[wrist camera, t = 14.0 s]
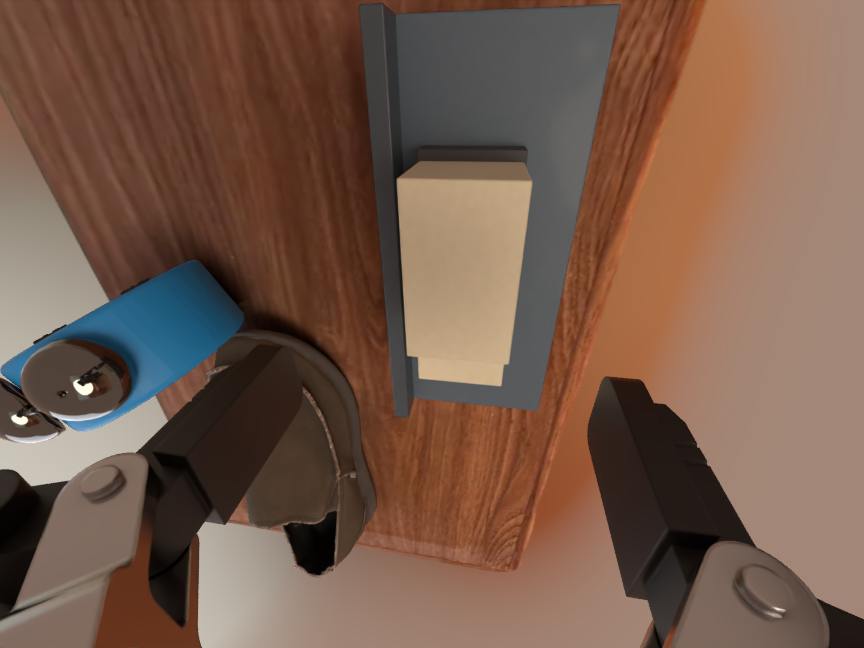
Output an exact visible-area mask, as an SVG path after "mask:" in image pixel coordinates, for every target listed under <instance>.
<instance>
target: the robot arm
mask: <svg viewBox="0 0 864 648" xmlns="http://www.w3.org/2000/svg"><path fill="white" fill-rule="evenodd" d="M204 387H205V388H204V390H203V389H201V390H200V391H199V392H198V393H197V394H196V395H195V396H194V397H193V398H192V401H191V402H188V403H187V404H186V405H185V406H184V407H183V408H182V409H181V410H180V411H179V412H178V413H177V414H176V415H175V416H173V417H172V418H171V419H170V420H169V421H168V422H167V423H166V424H165V425H164V426H163V427H162V428H161V429H160V430H159V431H158V432H157V433H156V434H155V435H154V436H153V437H152V438H151V439H150V440H149V441H148V442H147V443H146V444H145V445H144V446H143V447H142V448H141V449H139V450H138V451H137V452H136V453H122V454H117V455H113V456H110V457H107V458H105V459H102V460H100V461H98V462H96V463H94V464H92V465H90V466H89V467H87V468H86V469H84V470H82V471H81V472H80V473H78V474H77V475H76V476H75V477H73V478H72V479H71V480H70V481H64V482H57V483H51V484H44V485H37V486H30V485H29V484H28V483H27V482H26V481H25V480H24V479H23V478H22V477H21V476H20V475H19V474H18V473H17V472H16V471H14V470H8V469H7V470H5V469H4V470H3V469H2V470H0V648H202V647H201V644H200V640H199V635H198V584H199V583H198V582H199V538H198V535H197V532H198V531H199V529H200V528H201V526H202V524H203V523H204V522H205V521H206V522H212V523H217V524H223V525H225V524H226V523H227V521H228V520H229V518H230V517H231V515H232V514H233V512H234V511H235V509H236V507H237V506H238V504H239V503H240V501H241V500H242V498H243V497H244V495H245V494H246V492H247V490H248V489H249V487H250V486H251V484H252V483H253V481H254V480H255V478H256V477H257V475H258V473H259V472H260V470H261V469H262V467H263V466H264V464H265V463H266V461H267V460H268V458H269V456H270V455H271V453H272V452H273V450H274V449H275V447H276V446H277V444H278V443H279V441H280V439H281V438H282V436H283V435H284V433H285V432H286V430H287V429H288V427H289V426H290V424H291V422H292V421H293V419H294V418H295V416H296V415H297V413H298V412H299V410H300V408H301V405H302V401H303V387H302V383H301V380H300V376H299V372H298V369H297V365H296V361H295V357H294V354H293V351H292V349H291V348H290V347H288V346H281V345H270V344H259V345H257V346H256V347H254V348H253V349H252V351H251V352H250V353H249V354H248V355H247V356H246V357H245V358H244V359H243V360H242V361H240V360H239V361H237V362H235V363H234V364H232V365H230V366H229V367H227V368H225V369H224V370H222V371H220V372H219V373H218V374H217V375H216V376H215V377H214V378H213V379H212V380H211V381H210V382H209V383H207V384H206V385H205V386H204ZM587 436H588V445H589V450H590V454H591V458H592V462H593V466H594V470H595V474H596V478H597V482H598V486H599V490H600V493H601V498H602V502H603V506H604V510H605V514H606V518H607V522H608V526H609V530H610V534H611V538H612V542H613V546H614V550H615V554H616V558H617V562H618V565H619V570H620V573H621V578H622V582H623V586H624V589H625V593H626V596H627V597H632V598H638V599H644V600H648V603H649V607H650V610H651V613H652V617H653V621H652V622H651V624H650V626H649V628H648V630H647V633H646V635H645V637H644V640H643V642H642V644H641V646H640V648H864V619H862V618H860V617H857V616H855V615H852V614H850V613H848V612H845V611H843V610H841V609H839V608H836V607H834V606H832V605H830V604H827V603H825V602H823V601H821V600H819V599H817V598H816V597H815V596H814V594H813V593H812V592H811V590H810V589H809V588H808V587H807V586H806V585H805V583H804V582H803V581H802V580H801V579H800V578H799V577H798V576H797V575H796V574H795V573H794V572H793V571H792V570H790V569H789V568H788V567H787V566H785V565H784V564H783V563H782V562H780V561H779V560H777V559H776V558H774V557H773V556H771V555H770V554H768V553H766V552H764V551H762V550H761V549H758V548H757V547H756V546H755V544H754V543H753V541H752V539H751V538H750V536H749V534H748V532H747V531H746V529H745V527H744V525H743V524H742V522H741V520H740V518H739V517H738V515H737V513H736V511H735V510H734V508H733V506H732V504H731V502H730V501H729V499H728V497H727V495H726V494H725V492H724V490H723V488H722V487H721V485H720V483H719V481H718V480H717V478H716V476H715V474H714V473H713V471H712V469H711V467H710V466H707V460H706V458H705V457H704V455H703V453H702V452H701V450H700V448H697V443H696V441H695V439H694V437H693V436H692V434H691V432H690V430H689V429H688V427H687V425H686V423H685V422H684V421H683V420H682V419H680V418H679V417H678V416H677V415H676V414H675V413H674V412H673V411H672V410H671V409H670V408H669V407H667V405H665V404H657V403H654V402H653V400H652V398H651V396H650V394H649V392H648V390H647V389H646V387H645V385H644V383H643V382H642V381H641V380H639V379H628V378H618V377H604V378H603V380H602V382H601V384H600V388H599V391H598V394H597V397H596V401H595V403H594V407H593V410H592V413H591V417H590V420H589V423H588V435H587Z"/></svg>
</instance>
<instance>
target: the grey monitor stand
mask: <svg viewBox="0 0 864 648" xmlns="http://www.w3.org/2000/svg"><path fill="white" fill-rule="evenodd" d="M619 11H620V5H619V4H605V5H582V6H560V7H537V8H515V9H493V10H470V11H448V12H426V13H403V14H395V13H394V12H392V11H391V10H390V9H389V8H388V7H386V6H385V5H384V4H383V3H372V4H360V5H359V14H360V25H361V36H362V48H363V59H364V70H365V82H366V93H367V104H368V115H369V127H370V138H371V149H372V161H373V172H374V183H375V195H376V206H377V217H378V229H379V240H380V251H381V263H382V274H383V285H384V297H385V308H386V319H387V330H388V342H389V353H390V364H391V376H392V387H393V398H394V410H395V416H396V417H405V418H408V417H409V414H410V411H411V407H412V404H413V400H414V398H419V399H429V400H439V401H448V402H458V403H468V404H477V405H487V406H497V407H506V408H516V409H526V410H535V411H538V408H539V403H540V398H541V394H542V389H543V384H544V379H545V374H546V369H547V364H548V359H549V354H550V349H551V345H552V340H553V335H554V330H555V325H556V320H557V315H558V310H559V305H560V300H561V295H562V291H563V286H564V281H565V276H566V271H567V266H568V261H569V256H570V251H571V246H572V241H573V237H574V232H575V227H576V222H577V217H578V212H579V207H580V202H581V197H582V192H583V188H584V183H585V178H586V173H587V168H588V163H589V158H590V153H591V148H592V143H593V138H594V134H595V129H596V124H597V119H598V114H599V109H600V104H601V99H602V94H603V89H604V84H605V80H606V75H607V70H608V65H609V60H610V55H611V50H612V45H613V40H614V35H615V31H616V26H617V21H618V16H619ZM422 146H525V147H526V148H527V150H528V156H527V165H526V168H527V171H528V173H529V175H530V178H531V180H532V190H531V198H530V206H529V213H528V221H527V229H526V237H525V244H524V252H523V260H522V267H521V275H520V283H519V290H518V298H517V306H516V313H515V321H514V329H513V336H512V344H511V352H510V359H509V364H507V365H505V364H504V369H503V377H502V385H501V386H492V385H482V384H471V383H461V382H450V381H439V380H429V379H420V378H419V373H418V357H413V356H407V348H406V331H405V314H404V297H403V280H402V263H401V246H400V229H399V212H398V195H397V178H399V177H400V176H401V175H403V174H404V173H405V172H406V171H408V170H409V169H410V168H412V167H413V166H414V165H416V164H417V149H418V148H420V147H422Z"/></svg>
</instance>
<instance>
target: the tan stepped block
mask: <svg viewBox="0 0 864 648" xmlns="http://www.w3.org/2000/svg"><path fill="white" fill-rule="evenodd" d="M527 156H528V150H527V148H526V147H525V146H422V147H420V148H418V149H417V164H416V165H414V166H413V167H412V168H410V169H409V170H408V171H406V172H405V173H404V174H403V175H401V176H400V177H399V178H397V195H398V212H399V229H400V246H401V263H402V280H403V297H404V314H405V331H406V348H407V356H413V357H418V373H419V378H420V379H429V380H439V381H450V382H461V383H471V384H482V385H492V386H501V385H502V377H503V369H504V364H505V365H507V364H509V359H510V352H511V344H512V336H513V329H514V321H515V313H516V306H517V298H518V290H519V283H520V275H521V267H522V260H523V252H524V244H525V237H526V229H527V221H528V213H529V206H530V198H531V190H532V180H531V178H530V175H529V173H528V171H527V168H526V165H527Z"/></svg>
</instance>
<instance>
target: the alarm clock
mask: <svg viewBox="0 0 864 648" xmlns="http://www.w3.org/2000/svg"><path fill="white" fill-rule="evenodd" d="M244 304H246V303H245V302H244V301H243V302H241V303H239V304H237V305H236V304H235V302H234V301H233V300H232V299H231V298H230V296H229V295H228V294H227V293H226V292H225V291H224V289H223V288H222V287H221V286H220V285H219V283H218V282H217V281H216V280H215V279H214V278H213V276H212V275H211V274H210V273H209V272H208V270H207V269H206V268H205V267H204V266H203V265H202V263H201V262H200V261H198V260H190V261H187V262H185V263H183V264H181V265H178V266H176V267H174V268H172V269H170V270H168V271H166V272H164V273H162V274H160V275H158V276H157V277H155V278H153V279H151V280H149V279H148V278H147V279H146V280H143V281H141V282H139V283H138V284H137V285H136V286H132V287H130V289H127V290H125V291H123V292H122V293H121V296H119V297H117V298H115V299H114V300H112V301H110V302H108V303H106V304H105V305H103V306H101V307H99V308H97V309H96V310H94V311H92V312H90V313H88V314H87V315H85V316H83V317H81V318H80V319H78V320H76V321H74V322H72V323H71V324H69V325H64V326H62V327H60V328H57V329H55V330H54V331H53V332H52V333H50V334H46V335H44V336H43V337H42V338H40V339H38V340H36V341H34V342H33V343H34V345H33V346H31V347H29V348H28V349H26V350H25V351H23V352H21V353H20V354H18V355H17V356H15V357H13V358H12V359H10V360H9V361H8V362H6V363H5V364H4V365H3V366H2V367H1V369H0V370H1V373H2V375H3V376H5V377H6V378H7V379H9V380H10V381H11V382H12V383H14V384H15V385H16V386H15V385H13V384H12V383H10V382H8V381H6V380H5V379H3V378H0V438H2V439H5V440H9V441H12V442H18V443H37V442H43V441H47V440H49V439H52V438H54V437H56V436H58V435H60V434H61V433H63V432H64V431H65V430H66V428H65V426H64V425H63V424H62V423H61V422H60V421H59V420H58V419H61V420H62V421H63V422H65V423H66V424H67V425H68V426H70V427H71V428H72V429H74V430H76V431H83V432H84V431H89V430H93V429H96V428H99V427H101V426H103V425H105V424H107V423H109V422H111V421H113V420H115V419H117V418H119V417H120V416H122V415H124V414H126V413H127V412H129V411H131V410H132V409H134V408H136V407H137V406H139V405H141V404H142V403H144V402H145V401H147V400H149V399H150V398H151V397H153V396H155V395H156V394H158V393H159V392H161V391H162V390H164V389H165V388H167V387H168V386H170V385H171V384H172V383H174V382H175V381H177V380H178V379H179V378H181V377H182V376H184V375H185V374H186V373H188V372H189V371H190V370H192V369H193V368H194V367H196V366H197V365H198V364H200V363H201V362H202V361H204V360H205V359H206V358H207V357H209V356H210V355H211V354H212V353H213V352H215V351H216V350H217V349H218V348H219V347H221V346H222V345H223V344H224V343H225V342H226V341H227V340H228V339H229V338H230V337H232V336H233V335H234V334H235V333H236V331H237V330H238V329H239V328H240V327H241V325H242V324H243V322H244V319H245V317H244V313H243V312H242V311H241V309H240V308H241V307H242V306H243V305H244ZM17 386H18V387H19V388H18V387H17Z"/></svg>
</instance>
